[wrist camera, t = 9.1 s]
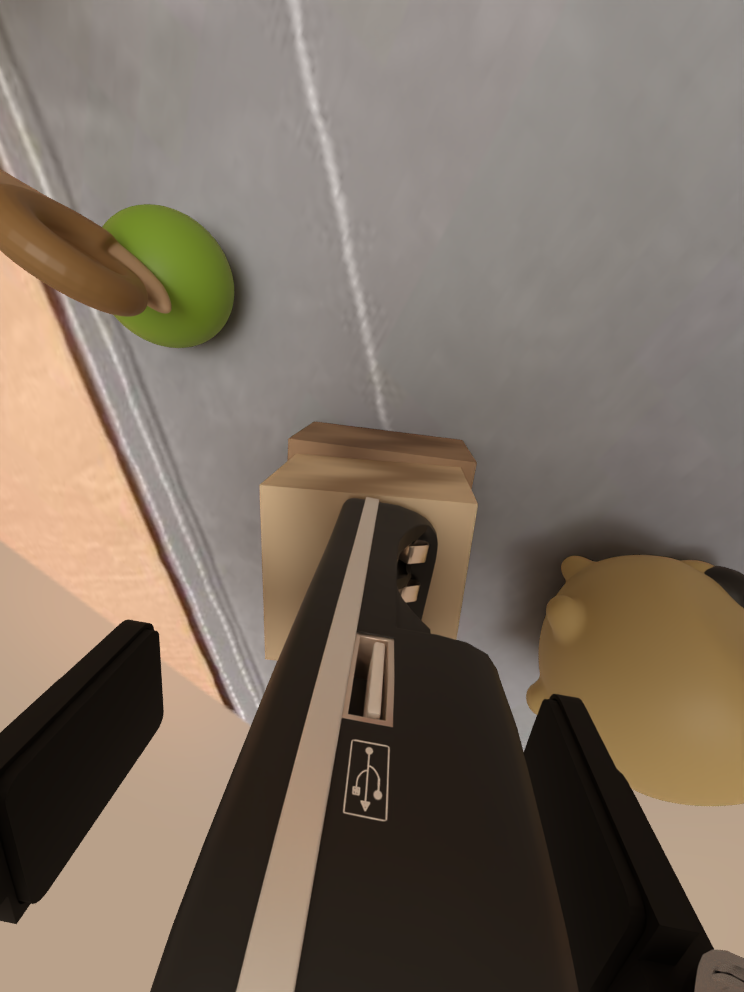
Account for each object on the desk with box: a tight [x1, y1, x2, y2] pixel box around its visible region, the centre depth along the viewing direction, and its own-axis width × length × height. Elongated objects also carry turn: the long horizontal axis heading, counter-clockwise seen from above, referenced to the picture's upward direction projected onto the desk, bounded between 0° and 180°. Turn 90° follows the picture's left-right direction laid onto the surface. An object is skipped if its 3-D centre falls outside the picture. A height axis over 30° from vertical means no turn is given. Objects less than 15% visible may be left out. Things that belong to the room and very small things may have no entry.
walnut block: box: [288, 422, 477, 489], centre depth 20 cm, size 8×8×5 cm
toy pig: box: [526, 555, 744, 806], centre depth 19 cm, size 10×12×11 cm
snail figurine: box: [0, 169, 234, 348], centre depth 14 cm, size 5×6×12 cm
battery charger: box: [150, 497, 579, 992], centre depth 8 cm, size 7×4×11 cm, turn 171°
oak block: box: [260, 454, 478, 660], centre depth 16 cm, size 7×7×4 cm
